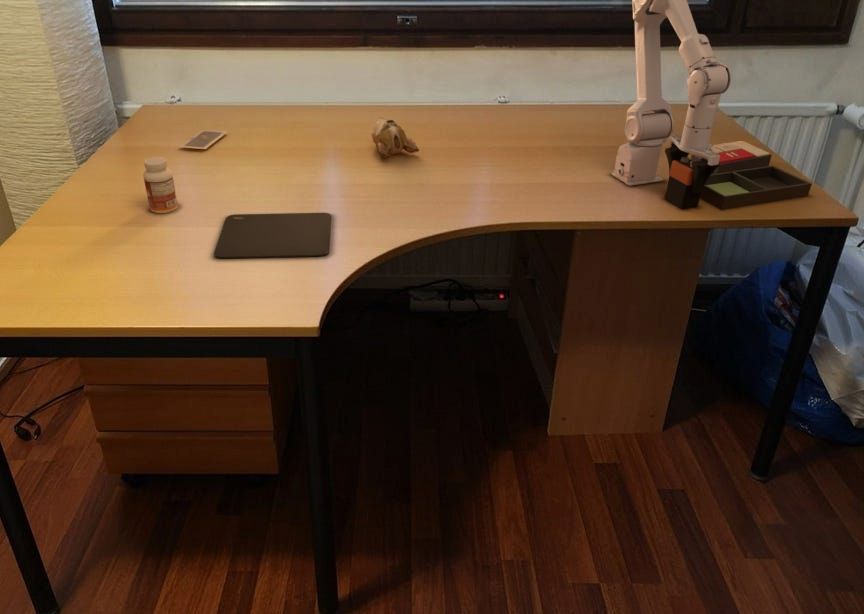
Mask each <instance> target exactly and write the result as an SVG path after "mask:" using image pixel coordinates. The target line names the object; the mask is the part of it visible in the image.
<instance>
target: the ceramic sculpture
mask: <svg viewBox="0 0 864 614" xmlns="http://www.w3.org/2000/svg"><path fill="white" fill-rule="evenodd" d="M371 139H372V140H373V143H374V144H375V146H376V149H377V152H378V154H379V155H380V156H381V157H383V158H384V157H385V158H386V157H389V156H390V155H395V154H400V153H401V152H402V151H403V150H404V151H405V152H406V153H418V152H420V149H419V148H418V146H417V144H416V141H414V140H413V139H412V138H410V137H407V134H406V132H405V130H404V129H403V128H402V127H401V126H400V125H398V123H397V122H396V121H395V120H393V119H389V120H388V119H386V118H384V117H383V116H380V117H379V120H378V121H376V123H375V125H374V127H373V131H372V133H371Z"/></svg>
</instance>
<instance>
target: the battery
mask: <svg viewBox="0 0 864 614" xmlns="http://www.w3.org/2000/svg"><path fill="white" fill-rule="evenodd" d="M692 162H696V161H692V160H691V158H689V157H682V158H681V159H680V160H674V161H672V166H671V170H670V175H669V174H668V181H667V184H666V188H665V194H664V199H665V200H666V201H668V202H670V203H672V204H673V205H675V206H676V207H678V208H680V209H682V210H686V209H691V208H697V207H698V206H699V203H700V200H701V198H700V195H701V192H699V193H692V192H691V185H692V180H693V168H692ZM701 191H702V190H701Z"/></svg>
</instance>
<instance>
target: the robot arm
mask: <svg viewBox="0 0 864 614" xmlns="http://www.w3.org/2000/svg"><path fill="white" fill-rule="evenodd" d="M631 1H632V3H631V4H632V20H633V21H634V45H635V47H634V49H635V70H636V71H635V74H636V75H635V76H636V77H635V78H636V102H634V104H632V105H631V106H630V107H629V108H628V109H627V111H626V121H625V125H624V133H625V136H626V139H627V141H628V142H626V143H624V144H621V145H620V146H619V147H618V149H617V152H616V158H615V163H614V169H613V171H612V172H611V175H612V176H613V177H615V178H616V179H618V180H619V181H621V182H622V183H624V184H626V185H627V186H630V187H633V186H639V185H644V184H652V183H659V182H663V181H664V178H662V177H661V176H659V175H657V171H658V166H659V161H660V157H661V152H662V148H663V147H662V146H663V144H666V141H667V139H668V141H667V145H669V147H666V148H665V149H664V153H665V156H666V159H667V163H668V176H669V175H670V170H671V166H672V161H674V160H680V159H681V158H682V157H688V156H689V155H691V156H692V155H694V156H696V157H698V158H700V159H701V161H696V162H692V168H693V180H692V185H691V192H692V193H699V192H701V190H702V189H703V187H704V185H705V183H706V181H707V180H708V178H709V177H710V175H711V174H713V172H714V171H715V170H716V169H717V168H718V167H719V159H720V155H718V154H716V153H715V152H714V151H713V150H712V149H711V146H713V144H711V143H710V142H711V137H712V134H713V129H714V125H715V121H716V117H717V112H718V108H719V104H720V100H721V95H722V94H724V93H726V92H727V91H728V89H729V87H730V86H731V80H732V74H731V72H730V68H729V67H728V66H727V65H726V64H724V63H722V62H721V61H720V60H718V59H717V57H716V55H715V53H714V51H713V49H712V46H711V44H710V40H709V38H708V37H707V35H706V34H703V33H701V34H700V33H699V32H698V29H697V27H696V23H695V21H694V18H693V14H692V12H691V9H690V6H689V3H688V0H631ZM665 19H668V21H669V22H670V24H671V26H672V28H673V30H674V32H675V33H676V35H677V37H678V39H679V41H680V45H679V47H678V53H679V55H680V57H681V60H682V62H683V64H684V67H685V69H686V71H687V73H688V76H689V77H687V79H686V88H687V93H688V94H687V103H688V106H687V111H686V116H685V119H684V125H683V129H682V134H681V135H678V134H673V132H674V129H675V119H674V116H673V114H672V105H671V104H670V102H668V101H666V100H665V99H664V98H663V95H662V92H663V91H662V57H661V27H660V26H661V24H662V23H663V21H664V20H665ZM646 112H647V113H646ZM648 112H650V113H648ZM672 134H673V135H672ZM688 158H689V157H688Z"/></svg>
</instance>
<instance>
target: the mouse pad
mask: <svg viewBox="0 0 864 614" xmlns="http://www.w3.org/2000/svg"><path fill="white" fill-rule="evenodd" d="M331 226H332V215H331V214H330V213H328V212H296V213H295V212H294V213H293V212H291V213H289V212H288V213H287V212H286V213H245V214H244V213H241V214H240V213H239V214H237V213H236V214H230V215H228V216H226V217H225V220H224V223H223V225H222V229H221V231H220V234H219V237H218V240H217V243H216V246H215V249H214V251H213V256H214V258H218V259H249V258H251V259H252V258H253V259H255V258H256V259H257V258H297V257H298V258H299V257H300V258H301V257H304V258H305V257H325V256H327V255H328V254H329V253H330V246H331V245H330V244H331V229H332V227H331Z"/></svg>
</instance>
